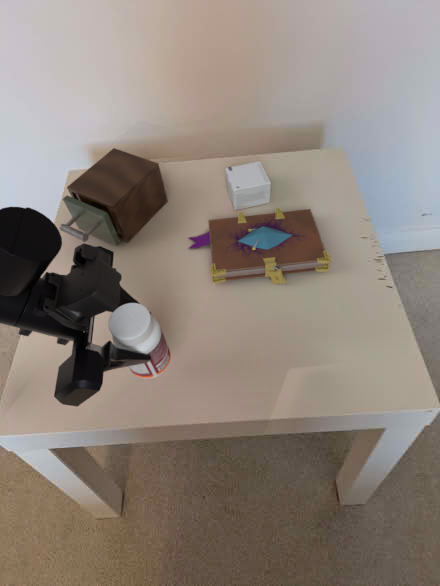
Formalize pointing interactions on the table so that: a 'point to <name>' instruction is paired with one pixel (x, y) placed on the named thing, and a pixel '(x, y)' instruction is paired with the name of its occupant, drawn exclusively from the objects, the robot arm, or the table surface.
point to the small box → (248, 185)
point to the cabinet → (124, 189)
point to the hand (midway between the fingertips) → (149, 337)
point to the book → (264, 246)
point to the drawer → (91, 220)
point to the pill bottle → (140, 338)
